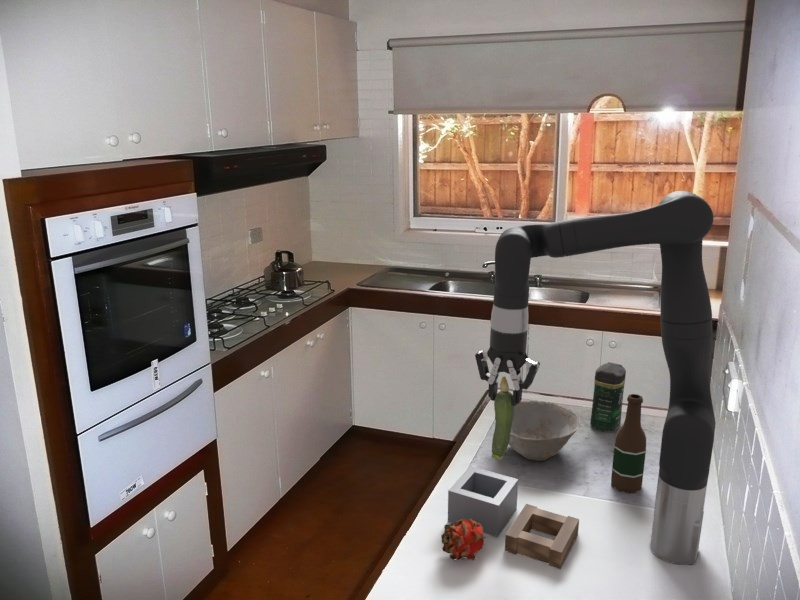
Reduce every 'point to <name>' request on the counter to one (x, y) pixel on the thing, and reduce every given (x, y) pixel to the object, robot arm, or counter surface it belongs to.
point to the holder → (483, 499)
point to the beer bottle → (629, 450)
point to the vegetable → (502, 420)
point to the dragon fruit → (463, 539)
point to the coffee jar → (608, 397)
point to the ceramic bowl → (541, 429)
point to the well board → (540, 547)
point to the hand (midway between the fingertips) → (504, 401)
